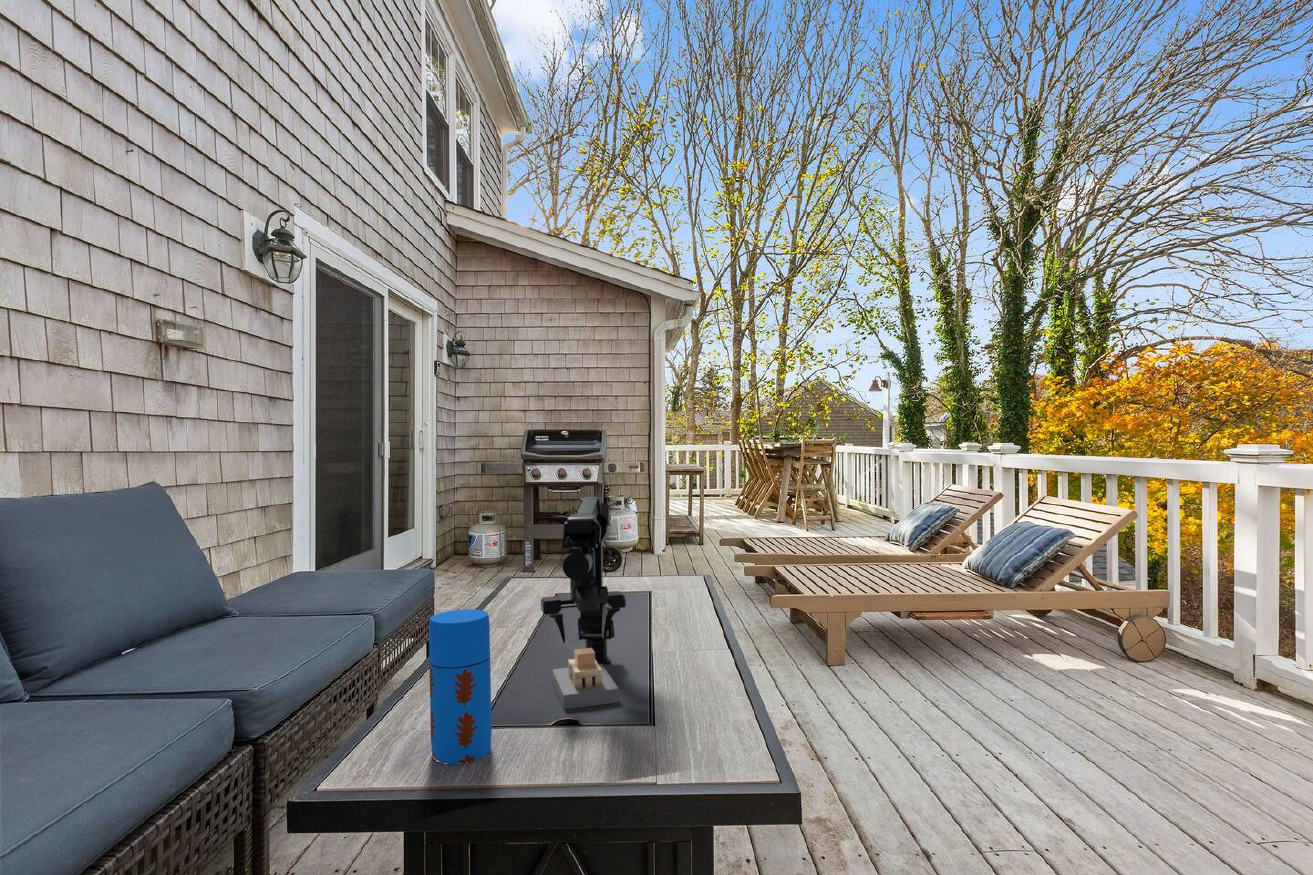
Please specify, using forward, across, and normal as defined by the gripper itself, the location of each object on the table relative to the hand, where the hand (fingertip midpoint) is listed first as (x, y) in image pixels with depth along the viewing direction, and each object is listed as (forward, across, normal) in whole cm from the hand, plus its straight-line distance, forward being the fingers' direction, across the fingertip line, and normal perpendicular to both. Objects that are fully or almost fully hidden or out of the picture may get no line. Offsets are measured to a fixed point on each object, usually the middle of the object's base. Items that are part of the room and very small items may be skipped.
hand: (584, 640), depth 154 cm
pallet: (+9, 0, 0) cm, 9 cm away
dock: (+12, 0, +1) cm, 12 cm away
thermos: (+12, -27, -22) cm, 37 cm away
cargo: (+5, 0, 0) cm, 5 cm away
